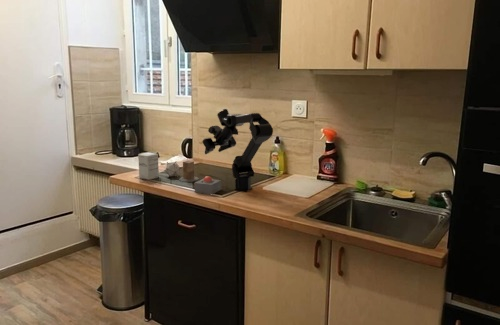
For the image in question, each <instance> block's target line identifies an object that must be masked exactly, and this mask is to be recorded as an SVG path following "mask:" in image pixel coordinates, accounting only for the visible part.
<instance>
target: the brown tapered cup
mask: <svg viewBox="0 0 500 325" xmlns="http://www.w3.org/2000/svg"><path fill="white" fill-rule="evenodd" d="M182 177H183V179H185V180H191V179H194V177H195V161H194V160H185V161H182Z"/></svg>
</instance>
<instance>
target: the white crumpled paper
mask: <svg viewBox="0 0 500 325" xmlns="http://www.w3.org/2000/svg"><path fill="white" fill-rule="evenodd" d="M181 169H183V166H181V167H180V166H179V165H178V163H177V161H173V162H172V161H171V162H169V161H167V162H166V166H165V169H164V170H163V172H166V174H167V175H168V178H170V177H175V176H177V177H179V173H180V170H181Z"/></svg>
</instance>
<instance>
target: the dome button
mask: <svg viewBox="0 0 500 325" xmlns="http://www.w3.org/2000/svg"><path fill="white" fill-rule="evenodd" d="M203 179H204V180H203V183H212V182H213V180H212V179H213V178H212V177H211V176H208V175H207V176H205V177H204V178H203Z"/></svg>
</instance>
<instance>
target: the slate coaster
mask: <svg viewBox="0 0 500 325" xmlns="http://www.w3.org/2000/svg"><path fill="white" fill-rule="evenodd" d="M199 179H200V178H199V177H197V176H194V179H191V180H185V179H183V176H181V177H180V178H178V181H179V182H182V183H193V182H194V183H195V182H197V181H199Z"/></svg>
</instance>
